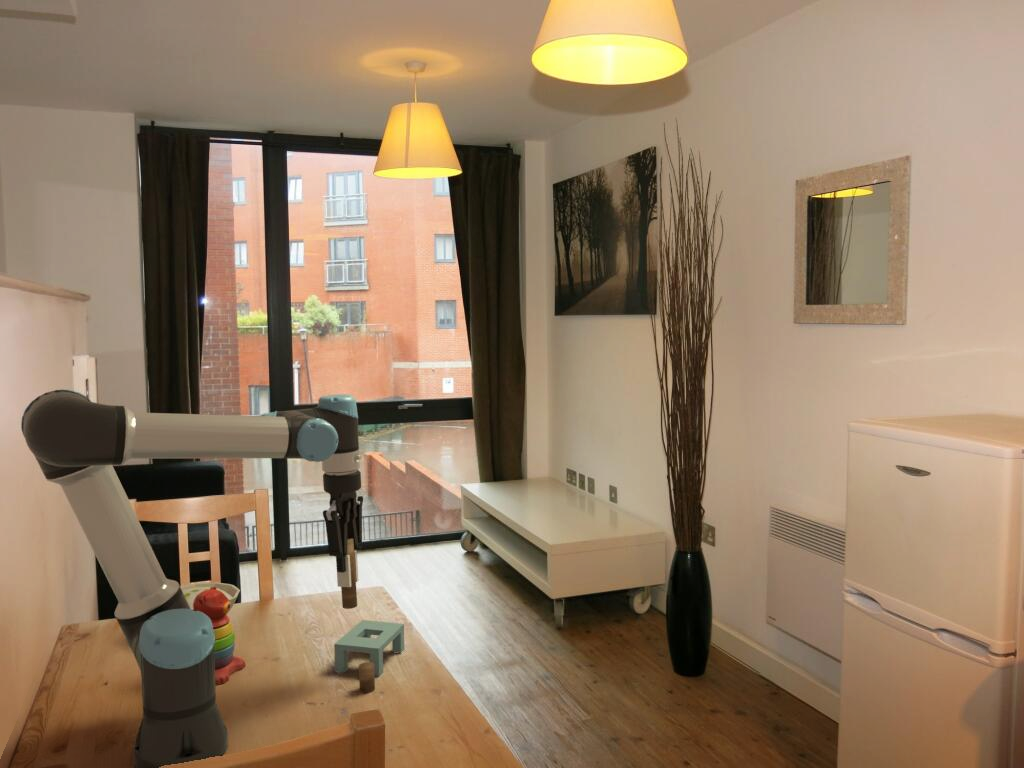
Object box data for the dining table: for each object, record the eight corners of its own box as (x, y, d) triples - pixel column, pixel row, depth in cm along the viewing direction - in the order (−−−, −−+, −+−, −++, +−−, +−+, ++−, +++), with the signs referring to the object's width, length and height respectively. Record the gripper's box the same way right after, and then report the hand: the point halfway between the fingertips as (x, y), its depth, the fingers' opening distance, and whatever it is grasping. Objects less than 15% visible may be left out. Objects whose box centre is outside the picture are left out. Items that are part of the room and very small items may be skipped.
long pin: (353, 609, 171) (349, 542, 169) (339, 608, 172) (335, 541, 170) (359, 603, 174) (355, 538, 172) (346, 602, 175) (342, 537, 173)
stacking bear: (222, 686, 170) (218, 600, 168) (176, 682, 172) (173, 597, 170) (249, 664, 180) (246, 583, 178) (206, 660, 182) (203, 580, 181)
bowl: (154, 624, 203) (152, 583, 202) (237, 612, 211) (236, 573, 210) (154, 654, 186) (152, 610, 185) (245, 640, 193) (243, 598, 192)
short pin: (371, 693, 166) (370, 669, 166) (357, 691, 167) (356, 667, 166) (377, 686, 169) (376, 663, 169) (363, 685, 170) (362, 661, 169)
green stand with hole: (379, 676, 174) (378, 648, 173) (335, 671, 176) (334, 643, 176) (404, 650, 187) (403, 623, 187) (362, 645, 190) (362, 619, 189)
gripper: (340, 480, 161) (347, 598, 164) (375, 463, 176) (381, 572, 179) (305, 479, 163) (312, 595, 166) (342, 462, 178) (349, 570, 181)
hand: (348, 583), depth 172 cm, fingers closed on long pin, 2 cm apart
